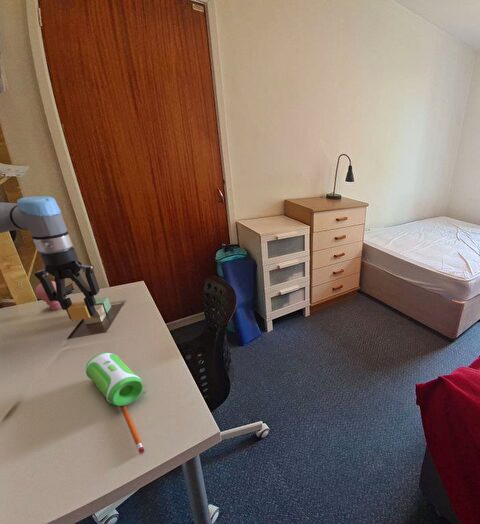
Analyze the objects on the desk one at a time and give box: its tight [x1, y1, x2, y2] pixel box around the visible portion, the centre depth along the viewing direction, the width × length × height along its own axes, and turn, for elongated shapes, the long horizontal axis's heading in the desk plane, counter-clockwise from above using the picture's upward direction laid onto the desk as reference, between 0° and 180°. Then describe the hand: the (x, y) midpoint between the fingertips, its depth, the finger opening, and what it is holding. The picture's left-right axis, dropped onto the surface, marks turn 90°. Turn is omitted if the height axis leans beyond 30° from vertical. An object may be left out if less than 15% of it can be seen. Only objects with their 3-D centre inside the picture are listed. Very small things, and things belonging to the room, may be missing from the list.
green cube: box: [94, 296, 112, 313], centre depth 104 cm, size 4×4×4 cm
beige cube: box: [84, 305, 106, 324], centre depth 99 cm, size 4×4×4 cm
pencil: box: [119, 405, 145, 454], centre depth 65 cm, size 1×19×1 cm, turn 49°
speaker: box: [85, 352, 144, 407], centre depth 73 cm, size 18×7×8 cm, turn 56°
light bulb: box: [34, 280, 62, 311], centre depth 104 cm, size 7×7×12 cm
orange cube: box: [67, 300, 91, 322], centre depth 92 cm, size 4×4×4 cm
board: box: [66, 302, 125, 340], centre depth 100 cm, size 12×20×1 cm, turn 22°
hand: (83, 315), depth 93 cm, fingers closed on orange cube, 4 cm apart
